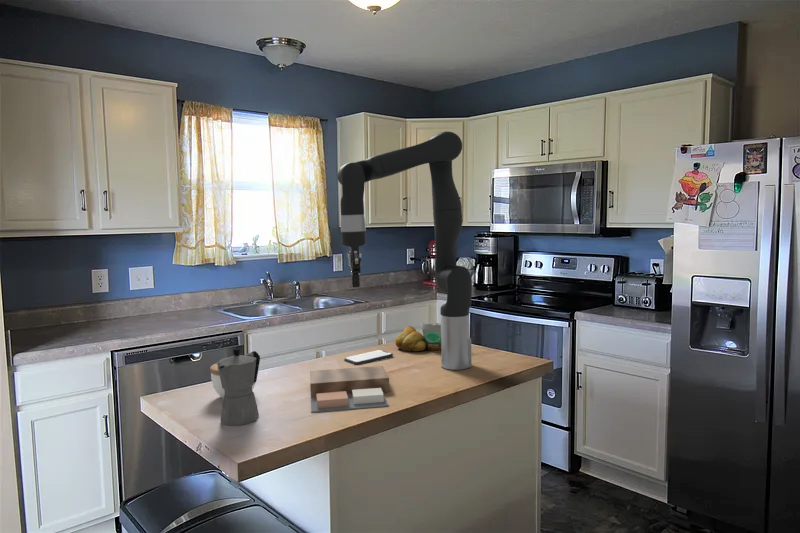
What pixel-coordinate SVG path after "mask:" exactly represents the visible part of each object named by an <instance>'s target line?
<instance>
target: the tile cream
mask: <svg viewBox="0 0 800 533" xmlns="http://www.w3.org/2000/svg"><path fill="white" fill-rule="evenodd" d="M383 394H384V392H382V389H381V388H371V389H357V390H352V398H353V403H354V404H363V403H376V402H384V396H385V394H384V395H383Z"/></svg>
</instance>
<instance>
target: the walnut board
mask: <svg viewBox="0 0 800 533" xmlns="http://www.w3.org/2000/svg"><path fill="white" fill-rule="evenodd" d="M309 374H310V375H309V379H310V380H309V382H310V383H309V384H310V385H309V386H310V398H311V397H316V394H318V393H330V392H343V391H346V393H347V394H352V390H357V389H371V388H381V389H382V392H383V393H387V392H388V393H389V392H390V377H389V375H388V373H387V371H386V369H385V367H384V366H383V365H377V366H362V367H359V366H358V367H349V368H348V367H346V368H344V367H343V368H333V369H332V368H331V369H317V370H310V371H309Z"/></svg>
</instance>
